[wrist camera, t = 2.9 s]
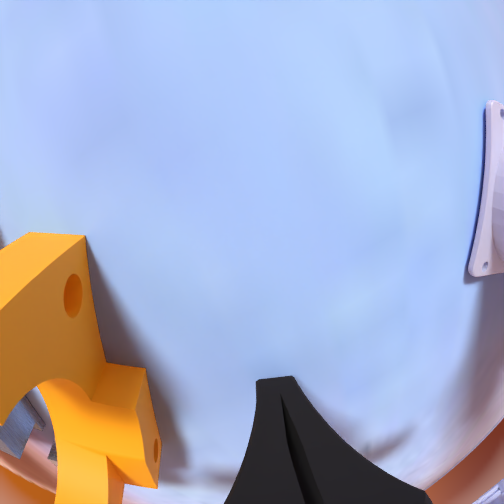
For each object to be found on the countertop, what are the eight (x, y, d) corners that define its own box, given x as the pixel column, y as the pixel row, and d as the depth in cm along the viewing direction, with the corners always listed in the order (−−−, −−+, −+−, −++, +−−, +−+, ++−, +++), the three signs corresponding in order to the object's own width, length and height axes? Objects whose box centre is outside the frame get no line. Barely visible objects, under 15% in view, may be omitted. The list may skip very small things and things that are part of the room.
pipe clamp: (162, 442, 13) (154, 540, 7) (92, 429, 12) (70, 518, 6) (134, 236, 9) (26, 385, 3) (31, 230, 8) (-92, 324, 2)
